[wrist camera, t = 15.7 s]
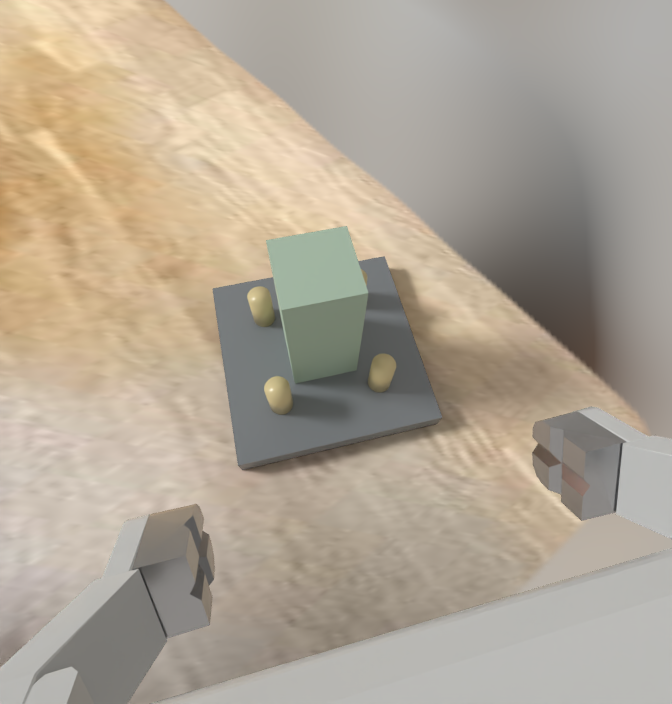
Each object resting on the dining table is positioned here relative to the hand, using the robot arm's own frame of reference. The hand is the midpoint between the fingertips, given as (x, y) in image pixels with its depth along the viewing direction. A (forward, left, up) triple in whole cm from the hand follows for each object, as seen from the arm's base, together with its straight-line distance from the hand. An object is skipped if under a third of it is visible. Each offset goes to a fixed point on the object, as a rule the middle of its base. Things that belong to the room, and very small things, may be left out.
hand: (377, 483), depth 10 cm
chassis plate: (+1, +12, -20) cm, 23 cm away
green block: (+1, +12, -18) cm, 22 cm away
